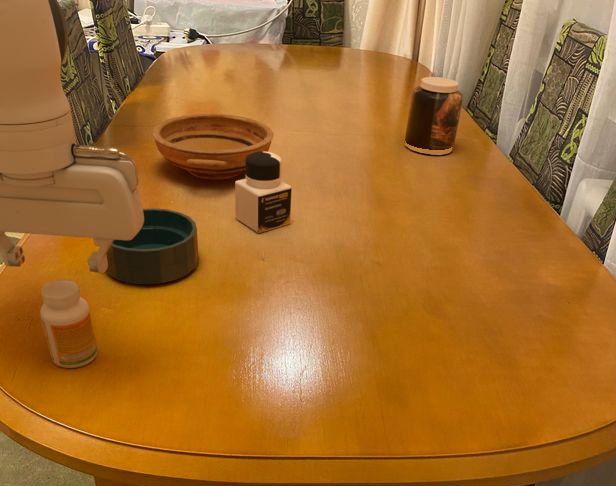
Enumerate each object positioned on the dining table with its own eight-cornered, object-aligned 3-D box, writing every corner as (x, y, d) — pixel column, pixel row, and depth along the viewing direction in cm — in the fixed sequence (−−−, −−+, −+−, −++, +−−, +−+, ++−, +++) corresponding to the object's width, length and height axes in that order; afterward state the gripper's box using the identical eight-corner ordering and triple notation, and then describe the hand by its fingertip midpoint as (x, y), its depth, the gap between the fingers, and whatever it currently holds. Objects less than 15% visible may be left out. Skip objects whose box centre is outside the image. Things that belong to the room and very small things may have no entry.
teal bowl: (90, 283, 88) (83, 246, 85) (121, 239, 100) (116, 205, 96) (187, 291, 88) (184, 254, 84) (206, 246, 99) (204, 212, 96)
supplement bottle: (107, 352, 76) (95, 285, 70) (73, 375, 72) (57, 306, 66) (76, 338, 78) (62, 271, 72) (42, 359, 74) (24, 291, 68)
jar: (399, 151, 142) (409, 83, 133) (408, 136, 151) (418, 72, 142) (449, 159, 140) (462, 90, 131) (456, 144, 149) (469, 79, 140)
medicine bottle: (258, 234, 104) (258, 165, 97) (234, 219, 108) (233, 152, 101) (290, 224, 108) (293, 157, 100) (267, 210, 112) (268, 145, 105)
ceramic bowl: (169, 143, 138) (166, 106, 133) (275, 149, 139) (276, 113, 134) (141, 194, 114) (136, 152, 109) (269, 201, 115) (270, 159, 110)
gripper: (143, 138, 61) (157, 260, 69) (-56, 125, 62) (-18, 247, 70) (124, 160, 56) (142, 288, 64) (-93, 145, 57) (-47, 274, 65)
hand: (57, 267), depth 67 cm, fingers open, 8 cm apart
